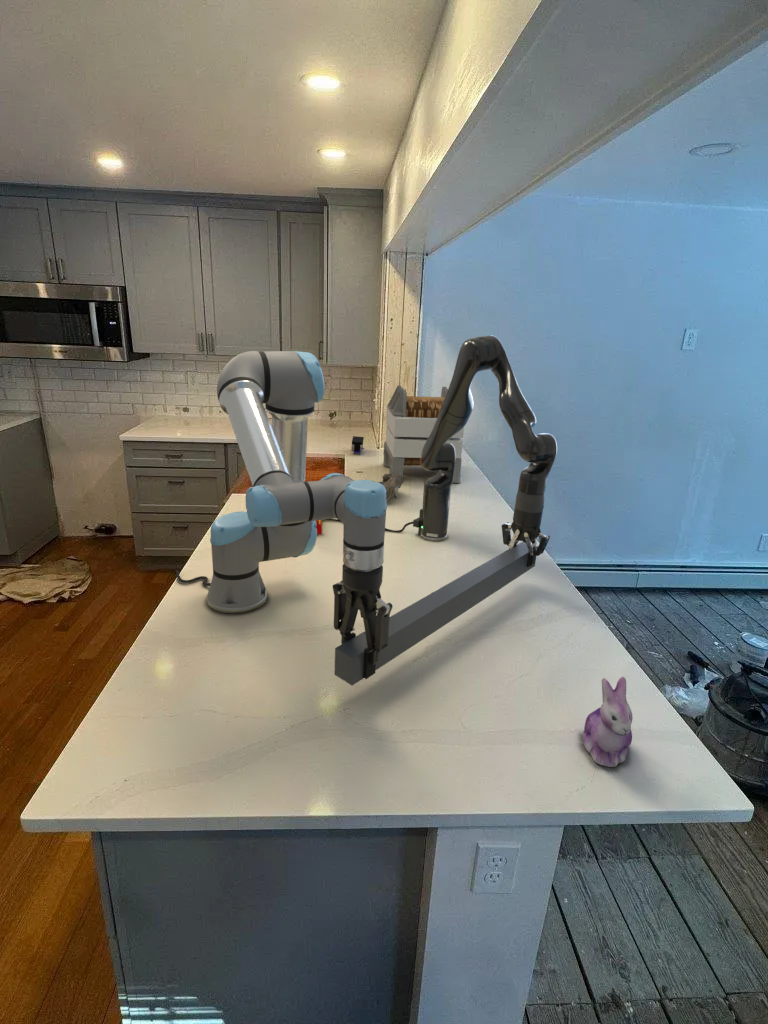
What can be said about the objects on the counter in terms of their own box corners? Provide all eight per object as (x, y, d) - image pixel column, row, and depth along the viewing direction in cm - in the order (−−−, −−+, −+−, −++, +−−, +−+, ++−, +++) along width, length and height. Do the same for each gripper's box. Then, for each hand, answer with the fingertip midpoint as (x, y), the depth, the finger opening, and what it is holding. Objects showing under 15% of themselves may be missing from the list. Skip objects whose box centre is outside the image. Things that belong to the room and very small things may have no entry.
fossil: (371, 479, 247) (398, 460, 242) (384, 495, 250) (412, 477, 245) (364, 500, 227) (394, 480, 222) (379, 517, 230) (409, 498, 225)
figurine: (610, 778, 98) (627, 706, 93) (567, 739, 106) (580, 672, 101) (647, 760, 102) (665, 691, 97) (603, 725, 110) (617, 659, 105)
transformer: (382, 463, 289) (386, 382, 275) (445, 464, 293) (451, 384, 279) (390, 482, 257) (394, 392, 243) (460, 483, 261) (468, 394, 247)
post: (519, 560, 165) (522, 541, 163) (534, 566, 162) (538, 546, 160) (334, 674, 112) (334, 648, 109) (352, 685, 109) (353, 658, 106)
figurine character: (363, 457, 303) (363, 448, 316) (363, 444, 300) (364, 435, 313) (350, 457, 303) (351, 447, 316) (351, 444, 299) (352, 434, 313)
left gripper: (314, 554, 108) (314, 658, 116) (386, 587, 97) (380, 698, 105) (342, 543, 113) (340, 643, 121) (413, 573, 102) (405, 680, 110)
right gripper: (498, 502, 155) (491, 559, 161) (547, 517, 147) (537, 576, 153) (512, 497, 161) (504, 551, 167) (559, 510, 152) (550, 567, 158)
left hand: (358, 668), depth 113 cm, fingers closed on post, 5 cm apart
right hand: (520, 562), depth 160 cm, fingers closed on post, 5 cm apart
